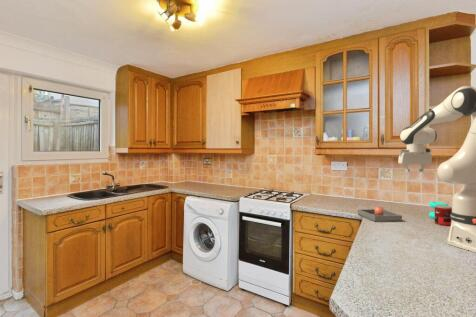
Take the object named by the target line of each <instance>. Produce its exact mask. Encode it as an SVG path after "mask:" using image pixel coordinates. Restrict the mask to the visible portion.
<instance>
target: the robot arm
mask: <svg viewBox="0 0 476 317" xmlns="http://www.w3.org/2000/svg"><path fill="white" fill-rule="evenodd" d="M463 116H465V117H468V116H472V122H471V125H470V127H469V130H468V131H467V134H466V137H465V139H464V140H463V141H464V142H463V143H462V145H461V146H460V148H459V150H457V152H456V153H455V154H454V155H453V156H451V157H449V159H447V160H445V161H444V162H441V163H440V164H439V165H438V167H437V169H436V173H437V177H438V179H439V180H440V181H442V182H443V183H448V184H454V185H463V186H462V188H461V189H460V190H459V191H457V192H455V193H454V194H453V195H452V200H451V207H452V212H451V215H450V216H451V226H449V232H448V235H447V239H446V241H447V242H446V244H447V245H450V246H453V247H456V248H460V249H463V250H466V251H468V250H469V251H468V252H472V253H475V254H476V87H473V86H472V85H471V86H470V85H463V86H460V87H458V88H457V89H455V90H454V91H453V92H452V93H450V94H449V95H448V96H447V97H446V98H445V99H444V100H443V101H442V102H441V103H439V104H438V105H436V106H435V107H433V108H432V109H430V110H428V111H426V112H424V113H423V114H422V115H421V116H419V117H418V118H417V119H416V120H415V121H414V122H412V123H411V124H409V125H408V126H406V127H404V128H403V129H402V130H401V131H400V134H399V139H400V141H401V142H402V143H403V144H404V145H406V149H401V150H400V151H399V153H398V154H399V155H398V159H397V160H398V161H397V162H398V165H403V167H404V169H405V172H406V173H410V171H411V169H410V168H409V165H415V166H416V165H420V168H419V169H418V171H419V172H420V173H423V172H424V170H425V168H426V165H427V166H428V165H429V166H430V165H431V164H432V162H433V161H432V160H433V159H432V158H433V156H432V154H431V153H432V149H431V148H428V147H425V146H424V145H430V144H433V143H434V142H435V141H436V140H437V137H438V133H437V131H436V129H434V128H432V127H428V126H431V125H436V124H442V123H443V124H444V123H452V122H455V121H457V120H458V119H460V118H462V117H463Z"/></svg>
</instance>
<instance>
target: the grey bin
mask: <svg viewBox="0 0 476 317" xmlns="http://www.w3.org/2000/svg"><path fill="white" fill-rule="evenodd" d="M357 215H358V216H360V217H362V218H364V219H367V220H370V221H371V222H373V223H386V222H387V223H389V222H391V223H392V222H393V223H394V222H402V221H403V215H402V214H401V215H400V214H399V213H398V214H397V213H395V212H392V211H389V210H386V209H383V216H375V208H373V209H371V208H370V209H364V208H363V209H357Z"/></svg>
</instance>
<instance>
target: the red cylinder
mask: <svg viewBox="0 0 476 317" xmlns="http://www.w3.org/2000/svg"><path fill="white" fill-rule="evenodd" d="M374 209H375V216H383V210H384V207H383V206H374Z"/></svg>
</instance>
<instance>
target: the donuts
mask: <svg viewBox="0 0 476 317" xmlns="http://www.w3.org/2000/svg"><path fill="white" fill-rule="evenodd" d="M428 205H429V207H431V208H432V209H435V205H446V206H449V204H448V203H447V202H441V201H431V202H429V203H428ZM428 216H429V218H432V219H434V218H435V211H431V212H429V214H428Z"/></svg>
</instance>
